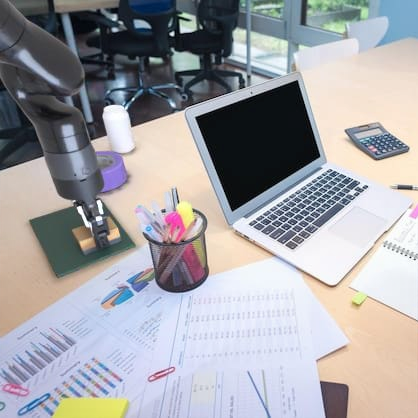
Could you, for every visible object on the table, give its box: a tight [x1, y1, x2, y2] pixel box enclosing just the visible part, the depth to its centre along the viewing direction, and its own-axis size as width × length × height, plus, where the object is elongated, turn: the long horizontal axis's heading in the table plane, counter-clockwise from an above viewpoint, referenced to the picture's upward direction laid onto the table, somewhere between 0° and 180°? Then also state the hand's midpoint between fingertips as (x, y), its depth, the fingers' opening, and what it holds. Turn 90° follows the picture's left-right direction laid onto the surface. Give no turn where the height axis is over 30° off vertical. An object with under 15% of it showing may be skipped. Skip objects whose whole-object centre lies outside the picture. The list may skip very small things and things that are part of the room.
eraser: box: [72, 217, 121, 255], centre depth 77 cm, size 7×4×4 cm, turn 132°
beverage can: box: [102, 104, 136, 154], centre depth 105 cm, size 6×6×12 cm
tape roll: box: [95, 150, 128, 193], centre depth 94 cm, size 12×12×5 cm
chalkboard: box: [28, 197, 137, 279], centre depth 80 cm, size 14×20×1 cm
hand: (99, 240), depth 77 cm, fingers closed on eraser, 4 cm apart
